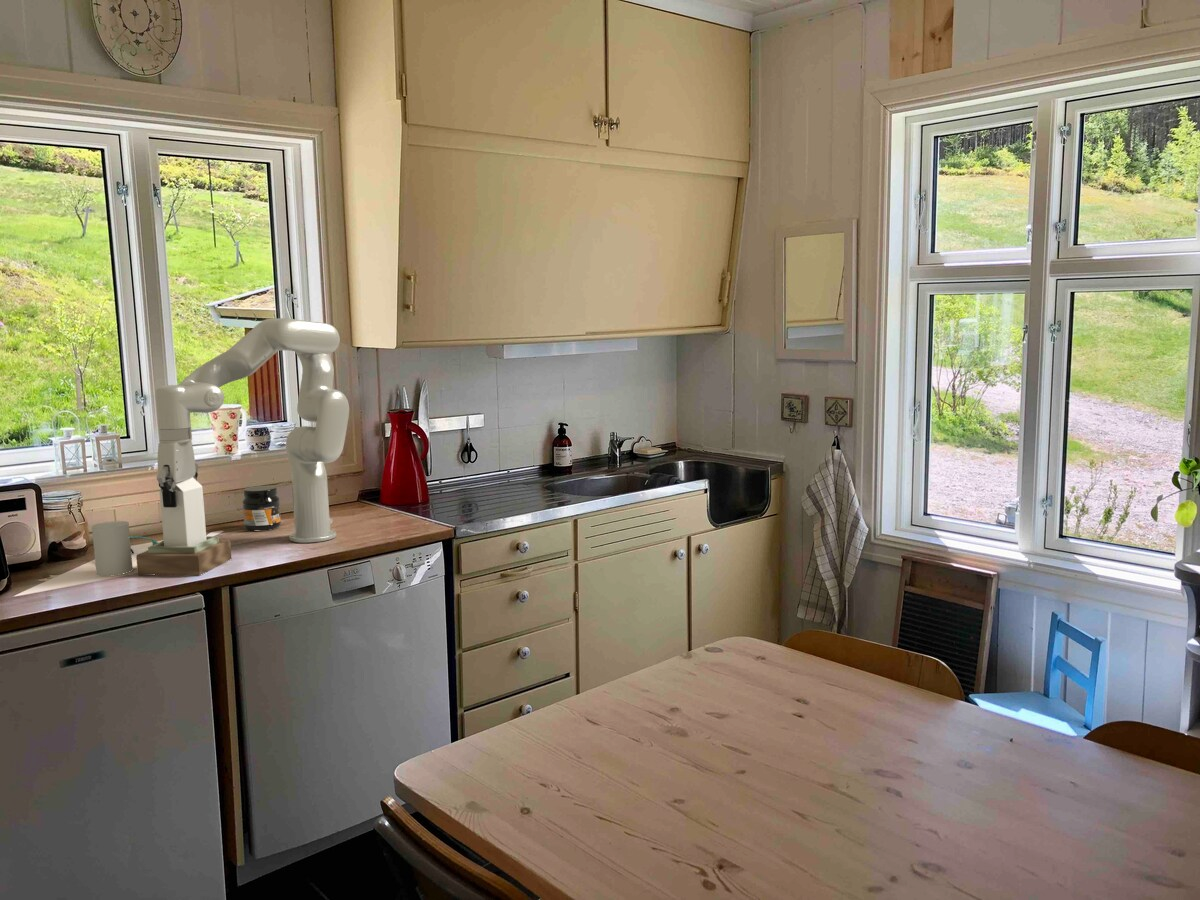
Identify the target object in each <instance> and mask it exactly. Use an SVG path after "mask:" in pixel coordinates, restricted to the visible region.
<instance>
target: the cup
mask: <svg viewBox="0 0 1200 900" xmlns="http://www.w3.org/2000/svg"><path fill="white" fill-rule="evenodd" d="M129 525H130V524H129V521H126V520H113V521H105V522H104V521H103V522H99V523H95V524H92V525H91V531H92V533H91V534H92V541H93V542H92V543H93V551H94V552H93V553H94V563H95V565H94V566H95V572H96V573H95V574H96V576H99V577H112V576H111V575H114V576H119V575H118V574H121V575H124V574H123V573H125V574H127V573H126V572H128V573H130V572H129V571H131V570H132V569H133V568H134V567H133V559H132V558H133V557H132V552H131V549H132V546H131V539H130V537H131V535H130V534H131V533H130V526H129ZM133 570H134V569H133ZM133 570H132V571H133ZM132 571H131V572H132Z"/></svg>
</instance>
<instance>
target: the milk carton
mask: <svg viewBox="0 0 1200 900" xmlns="http://www.w3.org/2000/svg"><path fill="white" fill-rule="evenodd" d="M170 479H171V478H170ZM168 484H169V485H170V484H171V483H168ZM203 488H204V487H203V485H202V484H201V483H200V482H199V481H198V480H197V481H196V480H195V479H194V478H193V477H192V478H190V479H187V480H183V481H180V482H176V485H175V488H174V491H176V502H177V506H176V507H164V506H163V496H162V492H161V488H160V490H159V500H160V511H161V512H160V513H161V525H162V526H161V527H162V537H163V541H164V546H186V547H193V546H195V545H197V544H199V543H201V542H204V541H206V540H207V539H206V536H207V530H206V529H207V528H206V517H205V516H206V515H205V503H204V491H203Z"/></svg>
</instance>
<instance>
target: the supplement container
mask: <svg viewBox="0 0 1200 900" xmlns="http://www.w3.org/2000/svg"><path fill="white" fill-rule="evenodd" d="M242 492H243V493H242V496H243V497H244V498H243V499H242V500H241V504H242V512H243V527H244V529H245V530H247V531H249V530H253V531H252V532H255V531H254V530H267V531H270V530H269V529H272V530H275V529H274V528H276V529H278V528H279V527H280V526H281V525H282V520H281V508H280V507H281V506H280V501H281V500H280V497H279V496H278V495H277V494H278V487H277V486H275V485H257V486H250V487H246V488H244V489H242ZM277 527H278V528H277Z"/></svg>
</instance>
